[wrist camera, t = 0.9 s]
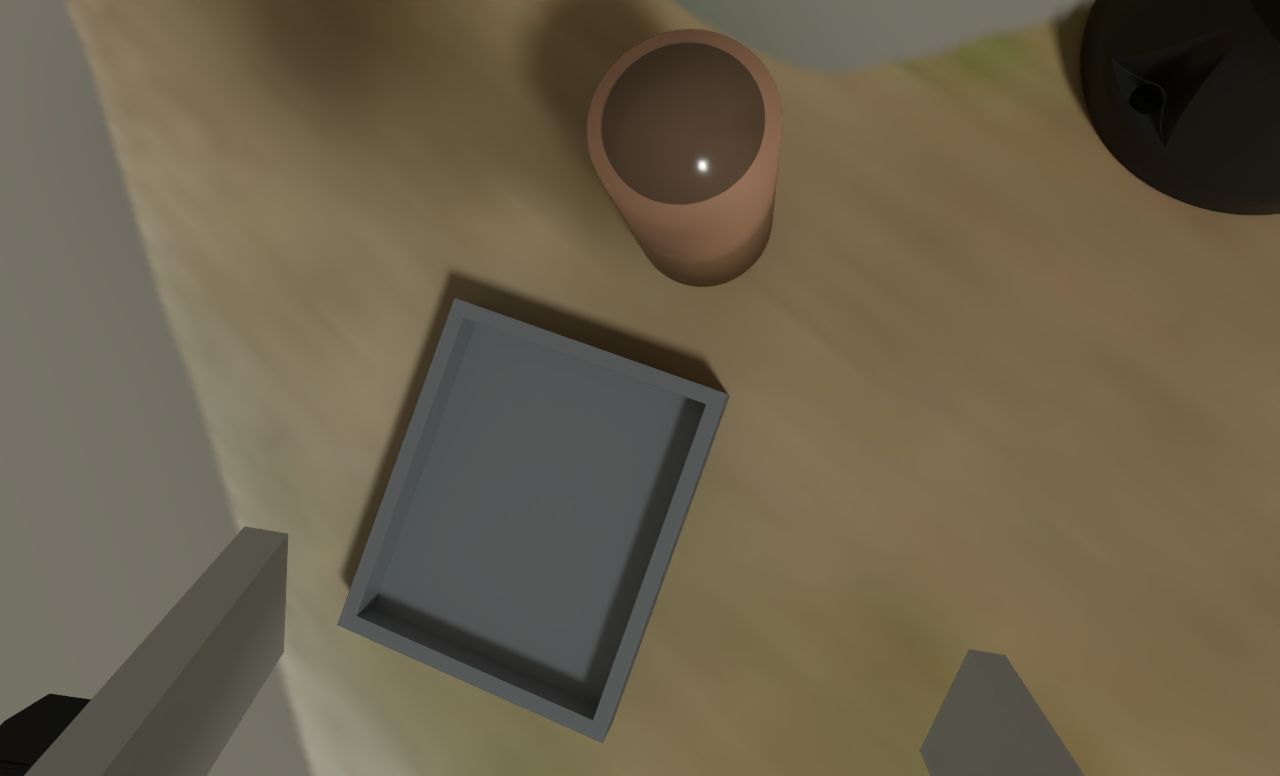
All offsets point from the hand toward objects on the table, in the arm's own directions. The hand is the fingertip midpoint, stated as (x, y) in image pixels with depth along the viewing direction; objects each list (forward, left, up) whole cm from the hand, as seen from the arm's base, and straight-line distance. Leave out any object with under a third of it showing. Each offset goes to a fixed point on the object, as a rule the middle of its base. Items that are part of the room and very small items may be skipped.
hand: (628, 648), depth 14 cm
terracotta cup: (+5, -14, -23) cm, 28 cm away
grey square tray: (+8, +3, -23) cm, 25 cm away
